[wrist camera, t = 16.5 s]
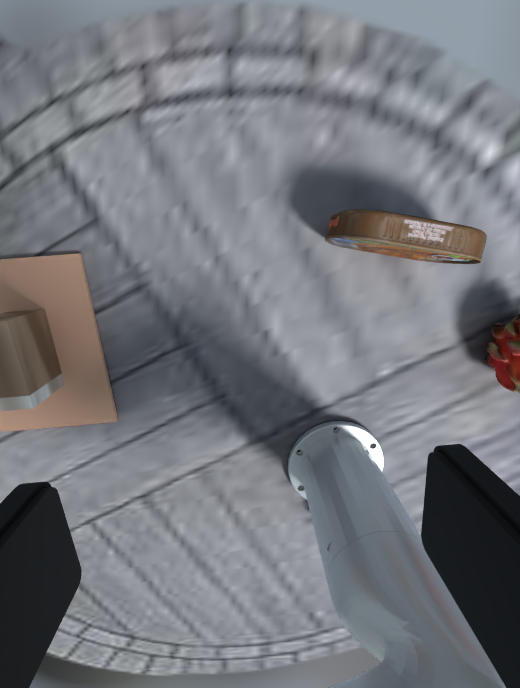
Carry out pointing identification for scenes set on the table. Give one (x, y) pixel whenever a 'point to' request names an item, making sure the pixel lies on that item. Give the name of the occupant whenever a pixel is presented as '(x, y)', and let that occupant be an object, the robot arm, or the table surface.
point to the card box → (27, 360)
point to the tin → (406, 236)
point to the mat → (60, 340)
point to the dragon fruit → (506, 354)
